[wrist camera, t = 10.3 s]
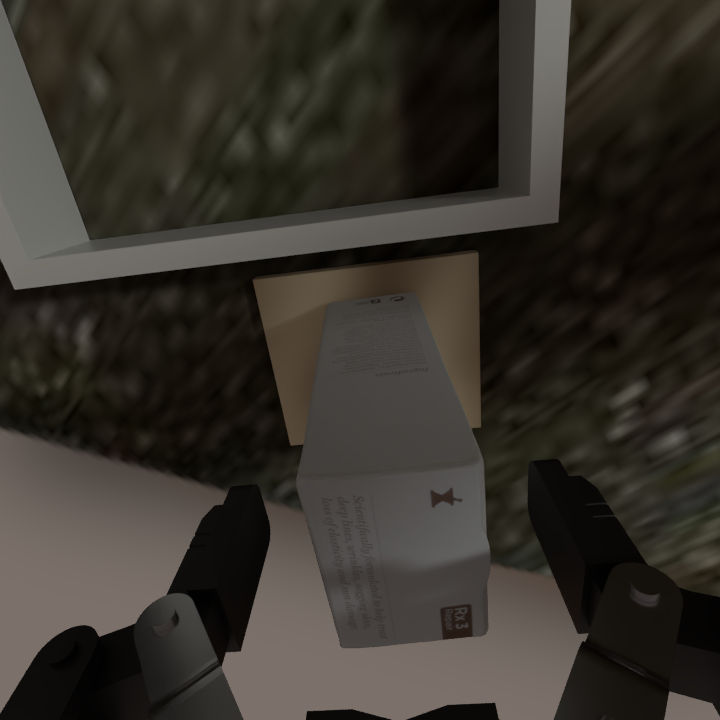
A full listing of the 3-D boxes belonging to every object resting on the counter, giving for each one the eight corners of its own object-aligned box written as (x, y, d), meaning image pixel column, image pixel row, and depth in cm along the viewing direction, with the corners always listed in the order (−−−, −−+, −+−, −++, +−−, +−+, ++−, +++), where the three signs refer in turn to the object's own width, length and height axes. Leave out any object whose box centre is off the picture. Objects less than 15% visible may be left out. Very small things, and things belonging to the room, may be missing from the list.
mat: (475, 249, 20) (478, 252, 19) (478, 420, 24) (480, 427, 23) (255, 276, 21) (252, 280, 20) (292, 438, 24) (290, 445, 24)
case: (535, -332, 13) (601, -520, 9) (522, 208, 19) (558, 222, 16) (-106, -202, 14) (-268, -323, 11) (77, 265, 20) (14, 289, 17)
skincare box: (323, 301, 20) (272, 476, 9) (421, 287, 20) (488, 452, 9) (344, 416, 23) (324, 658, 12) (432, 405, 23) (494, 644, 12)
